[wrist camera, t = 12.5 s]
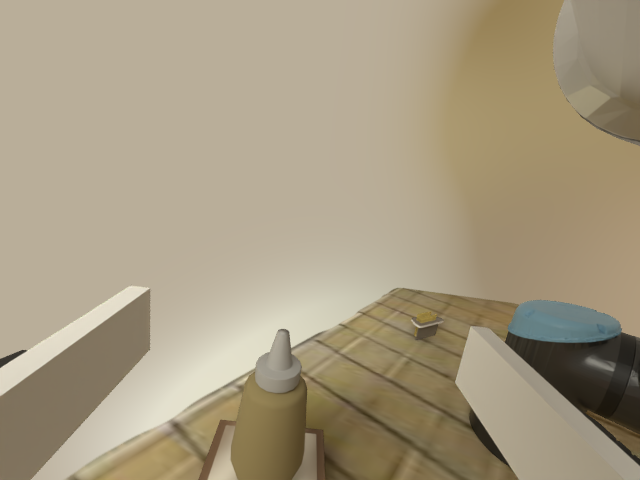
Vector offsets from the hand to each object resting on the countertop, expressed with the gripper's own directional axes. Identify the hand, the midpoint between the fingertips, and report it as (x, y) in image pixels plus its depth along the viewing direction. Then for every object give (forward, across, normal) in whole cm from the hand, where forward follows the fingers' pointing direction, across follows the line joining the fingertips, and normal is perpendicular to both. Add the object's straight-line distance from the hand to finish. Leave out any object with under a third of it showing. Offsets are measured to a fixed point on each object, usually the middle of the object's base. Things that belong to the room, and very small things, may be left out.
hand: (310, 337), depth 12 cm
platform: (+58, +33, -32) cm, 74 cm away
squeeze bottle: (+16, -2, -28) cm, 32 cm away
